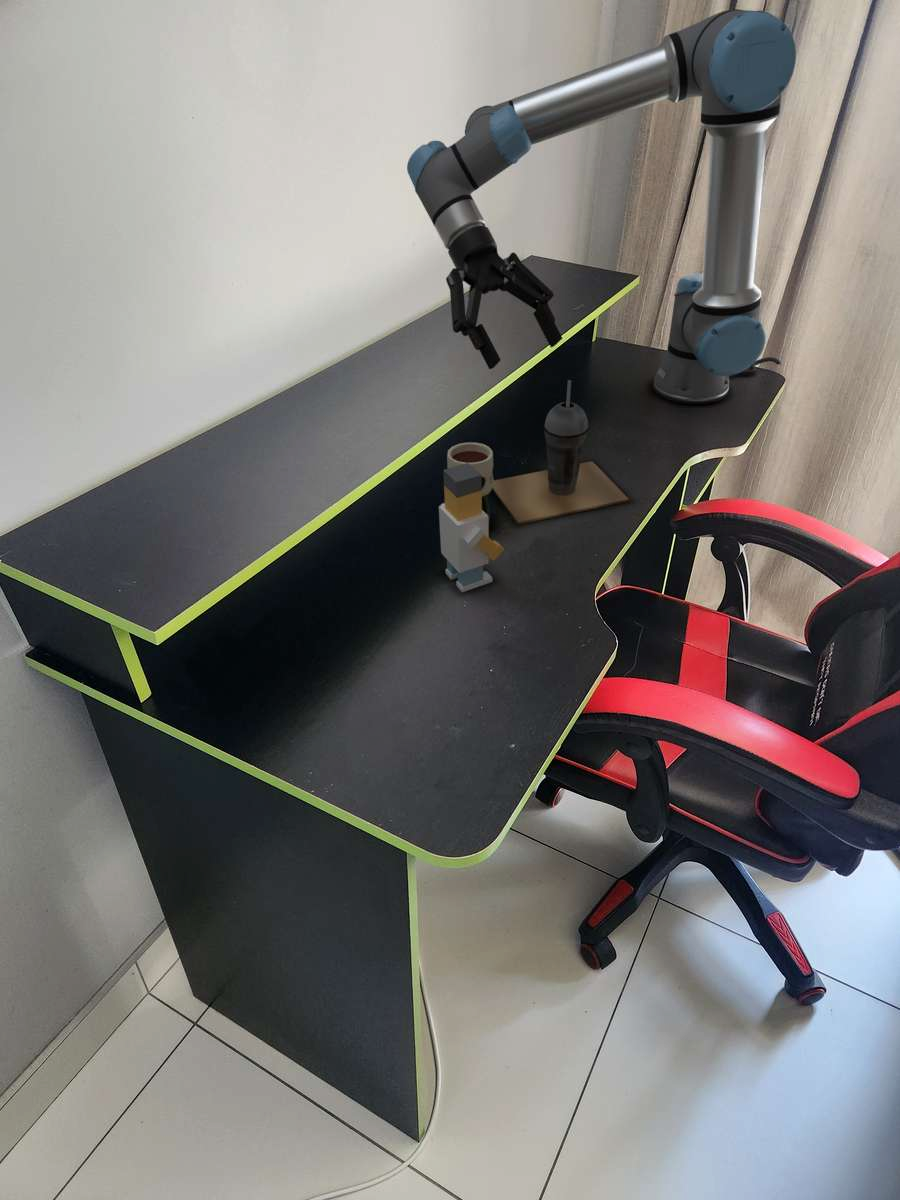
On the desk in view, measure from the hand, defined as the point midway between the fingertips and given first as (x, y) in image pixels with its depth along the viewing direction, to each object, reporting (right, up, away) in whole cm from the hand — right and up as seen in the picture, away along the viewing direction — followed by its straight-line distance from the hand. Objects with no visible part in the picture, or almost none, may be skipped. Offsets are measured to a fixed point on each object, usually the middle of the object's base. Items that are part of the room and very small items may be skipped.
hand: (526, 353), depth 127 cm
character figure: (-10, -37, -11) cm, 40 cm away
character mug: (-9, -28, 0) cm, 29 cm away
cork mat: (+6, -22, +7) cm, 24 cm away
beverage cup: (+7, -21, +7) cm, 23 cm away
